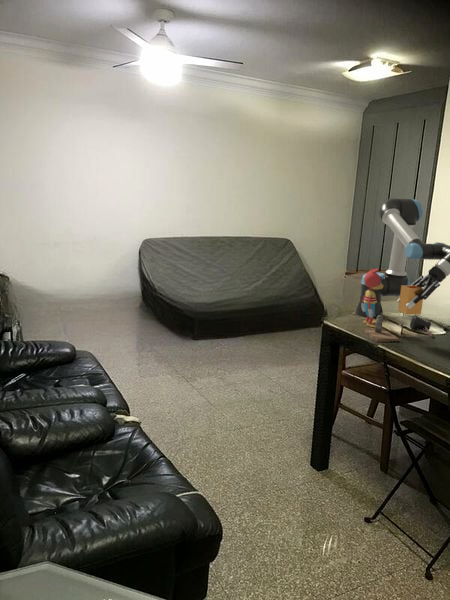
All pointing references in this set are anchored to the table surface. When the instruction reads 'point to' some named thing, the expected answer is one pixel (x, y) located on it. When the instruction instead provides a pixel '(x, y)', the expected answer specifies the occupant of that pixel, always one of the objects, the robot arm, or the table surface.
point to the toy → (371, 296)
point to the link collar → (409, 299)
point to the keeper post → (380, 332)
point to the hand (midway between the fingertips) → (403, 304)
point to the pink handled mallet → (421, 324)
